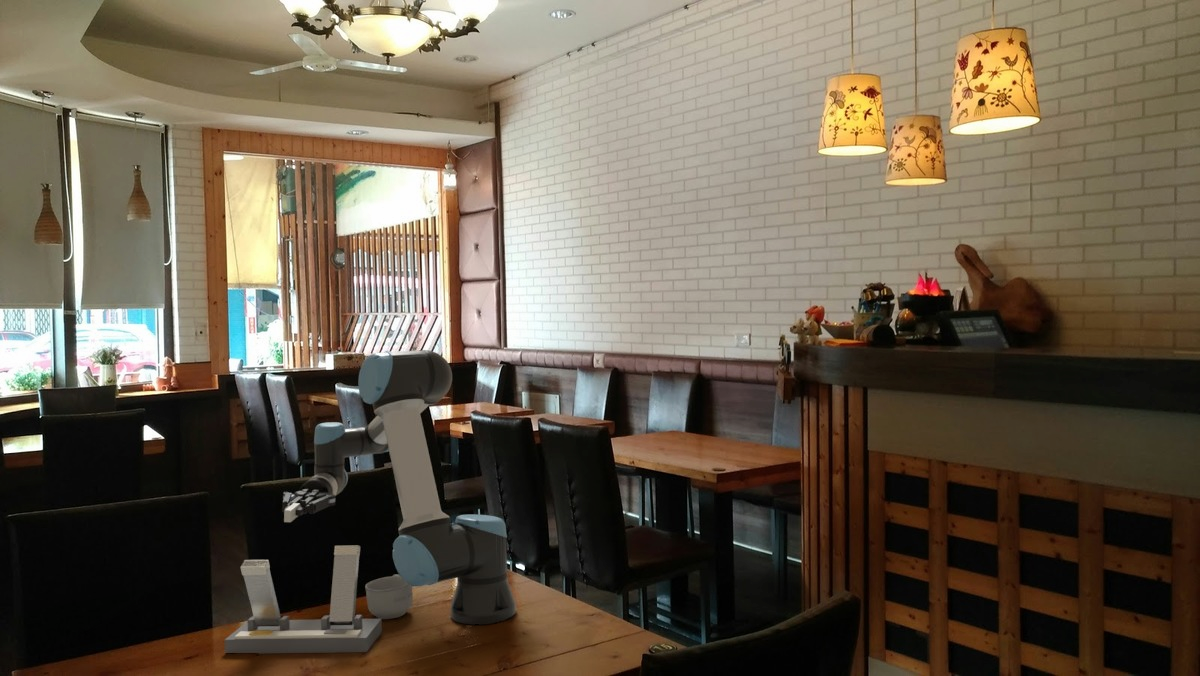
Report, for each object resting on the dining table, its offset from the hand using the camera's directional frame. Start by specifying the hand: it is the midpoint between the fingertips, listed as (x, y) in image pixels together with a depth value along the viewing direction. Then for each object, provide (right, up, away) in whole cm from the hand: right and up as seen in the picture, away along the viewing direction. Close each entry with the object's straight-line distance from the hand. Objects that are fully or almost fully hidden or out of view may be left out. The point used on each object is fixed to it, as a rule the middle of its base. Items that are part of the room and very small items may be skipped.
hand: (287, 516), depth 202 cm
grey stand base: (+7, -26, -9) cm, 28 cm away
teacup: (+22, -25, +10) cm, 35 cm away
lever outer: (-1, -21, -9) cm, 23 cm away
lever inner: (+15, -21, -9) cm, 27 cm away
